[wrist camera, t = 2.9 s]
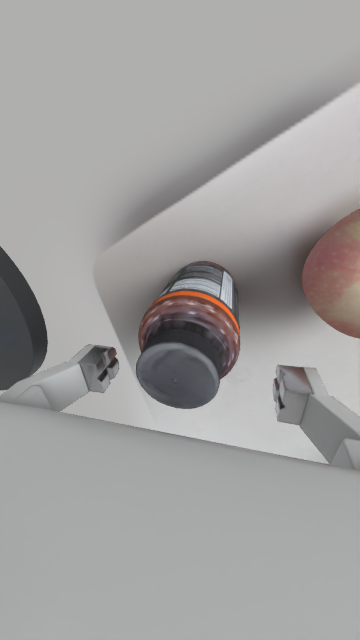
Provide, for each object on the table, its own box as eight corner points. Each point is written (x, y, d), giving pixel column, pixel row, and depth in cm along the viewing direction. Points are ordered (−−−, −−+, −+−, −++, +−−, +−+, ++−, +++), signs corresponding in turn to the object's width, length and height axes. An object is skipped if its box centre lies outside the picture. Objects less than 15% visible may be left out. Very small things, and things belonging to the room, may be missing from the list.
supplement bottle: (223, 329, 21) (213, 439, 11) (165, 308, 21) (108, 399, 12) (249, 272, 18) (267, 357, 8) (182, 249, 18) (122, 305, 9)
